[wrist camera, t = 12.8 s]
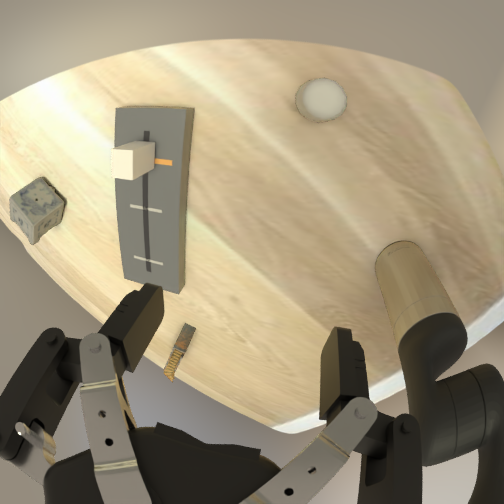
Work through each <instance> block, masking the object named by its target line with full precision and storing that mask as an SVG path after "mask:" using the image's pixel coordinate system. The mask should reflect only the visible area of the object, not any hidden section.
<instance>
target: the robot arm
mask: <svg viewBox="0 0 504 504" xmlns="http://www.w3.org/2000/svg"><path fill="white" fill-rule="evenodd" d="M375 272H376V276H377V279H378V282H379V285H380V289H381V292H382V295H383V298H384V302H385V305H386V308H387V312H388V315H389V319H390V322H391V326H392V329H393V333H394V337H395V340H396V344H397V348H398V353H399V357H400V361H401V365H402V370H403V374H404V379H405V384H406V390H407V396H408V404H409V414H401V415H399V416H397V417H396V418H394V417H391V416H389V415H385V414H383V413H381V412H379V411H377V408H376V406H375V404H374V403H373V402H372V401H371V400H370V399H369V390H368V381H367V372H366V364H365V356H364V350H363V349H362V347H361V345H360V343H359V342H356V341H353V340H352V332H351V329H347V328H341V327H334V328H333V330H332V332H331V334H330V336H329V338H328V340H327V342H326V343H325V345H324V347H323V350H322V354H321V378H320V412H319V419H320V420H327V425H326V427H325V429H324V430H323V431H322V432H321V433H320V434H319V435H318V436H317V437H316V438H315V439H314V440H313V441H312V442H311V443H310V444H309V445H308V446H307V447H305V448H304V449H303V450H302V451H301V452H300V453H299V454H298V455H297V456H296V457H295V458H294V459H292V460H291V461H290V462H289V463H288V464H287V465H286V466H284V467H283V468H282V469H280V468H279V467H278V466H277V465H276V464H275V463H274V462H272V461H271V460H269V459H268V458H266V457H264V456H262V455H260V451H261V449H256V448H250V447H244V446H240V445H234V444H206V443H203V442H202V441H200V440H198V439H196V438H194V437H192V436H191V435H189V434H187V433H186V432H184V431H182V430H179V429H176V428H173V427H170V426H167V425H164V424H161V423H159V422H157V425H156V427H140V428H137V425H136V422H135V420H134V417H133V415H132V412H131V409H130V405H129V401H128V398H127V394H126V390H125V386H124V382H123V378H122V375H123V373H124V371H125V370H127V371H129V372H132V373H133V372H134V370H135V368H136V366H137V365H138V363H139V361H140V359H141V357H142V355H143V354H144V352H145V350H146V348H147V347H148V345H149V343H150V341H151V339H152V338H153V336H154V334H155V332H156V331H157V329H158V327H159V325H160V324H161V322H162V319H163V316H164V299H163V288H162V287H161V286H158V285H155V284H151V283H148V282H147V283H145V284H144V286H143V287H142V288H141V290H140V291H137V290H134V291H132V292H131V293H129V294H127V295H126V296H125V297H124V298H123V300H122V301H121V302H120V304H119V305H118V306H117V308H116V310H114V311H113V313H112V314H111V315H110V317H109V318H108V320H107V321H106V322H105V324H104V325H103V326H102V328H101V329H100V330H99V332H98V333H92V334H89V335H87V336H85V337H84V338H83V339H75V338H68V337H65V335H64V333H63V331H62V330H61V329H59V328H49V329H47V330H45V331H44V332H43V333H42V334H41V335H40V337H39V338H38V339H37V341H36V342H35V343H34V345H33V346H32V348H31V349H30V350H29V352H28V353H27V355H26V356H25V358H24V359H23V361H22V362H21V364H20V365H19V367H18V368H17V370H16V372H15V373H14V375H13V376H12V378H11V379H10V381H9V383H8V384H7V386H6V388H5V389H4V391H3V393H2V395H1V396H0V457H1V458H2V459H3V460H5V461H7V462H9V463H10V464H12V465H14V466H15V467H18V468H19V469H20V470H21V471H23V472H24V473H26V474H27V475H28V476H29V477H31V478H32V479H34V480H35V481H36V482H38V483H40V484H41V485H42V486H43V487H44V495H45V504H307V503H308V502H309V501H310V500H311V499H312V498H313V497H314V496H315V495H316V494H317V493H318V492H319V491H320V490H321V489H322V488H323V487H324V486H325V485H326V484H327V483H328V482H329V481H330V480H331V479H332V478H333V477H334V475H335V474H336V473H337V472H338V471H339V470H340V469H341V468H342V467H343V465H344V464H345V463H346V462H347V460H348V459H349V457H350V456H349V454H350V453H351V452H352V451H355V452H358V453H361V454H362V459H361V472H360V484H359V494H358V502H357V504H422V466H426V467H427V466H432V465H436V464H439V463H442V462H445V461H448V460H450V459H453V458H456V457H459V456H461V455H464V454H466V453H469V452H471V451H474V450H475V449H478V453H479V464H478V474H477V480H476V484H475V487H474V490H473V493H472V496H471V498H470V500H469V502H468V504H504V381H503V378H502V376H501V375H500V373H499V371H498V370H497V369H496V368H495V367H494V366H493V365H490V364H483V365H479V366H477V367H474V368H471V369H469V370H466V371H464V372H461V373H458V374H456V375H453V376H450V377H448V378H445V379H442V380H439V381H435V380H436V379H437V378H438V377H439V376H440V375H441V374H442V373H443V372H445V371H446V370H447V369H449V368H450V367H451V366H452V365H453V364H454V363H455V362H456V361H457V360H458V359H459V358H460V357H461V355H462V353H463V352H464V350H465V348H466V345H467V339H468V338H467V332H466V329H465V327H464V325H463V323H462V321H461V319H460V317H459V315H458V313H457V311H456V309H455V307H454V305H453V303H452V301H451V300H450V298H449V296H448V294H447V292H446V290H445V289H444V287H443V285H442V283H441V282H440V280H439V278H438V277H437V275H436V273H435V272H434V270H433V268H432V267H431V265H430V263H429V262H428V260H427V258H426V257H425V255H424V254H423V252H422V251H421V249H420V248H419V247H418V246H417V245H416V244H414V243H412V242H408V241H400V242H396V243H394V244H391V245H390V246H388V247H387V248H385V249H384V250H383V251H382V252H381V254H380V255H379V257H378V259H377V261H376V265H375ZM80 382H82V383H83V386H82V387H80V397H81V404H82V410H83V415H84V421H85V426H86V432H87V436H88V440H89V445H90V449H88V450H86V451H84V452H81V453H78V454H76V455H74V456H71V457H69V458H66V459H64V460H61V461H58V462H56V463H55V459H54V455H55V454H56V445H55V441H54V439H53V435H54V433H55V431H56V429H57V426H58V424H59V422H60V420H61V418H62V416H63V414H64V412H65V410H66V408H67V406H68V404H69V402H70V400H71V398H72V396H73V394H74V392H75V390H76V389H77V387H78V385H79V383H80Z"/></svg>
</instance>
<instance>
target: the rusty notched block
mask: <svg viewBox="0 0 504 504" xmlns="http://www.w3.org/2000/svg"><path fill="white" fill-rule="evenodd" d="M195 329H196V328H194V327H192V326H190V325H188V324H186V323H185V325H184V327H183V329H182V331H181V333H180V335H179V337H178V339H177V341H176V343H175V345H174V347H173V350H172V352H171V354H170V356H169V359H168V361H167V363H166V366H165V368H164V374H165V375H166V376H167V377H168V378H169V379H170V380H171V381H172V380H173V379H174V373H175V371H176V369H177V367H178V365H179V363H180V361H181V359H182V358H183V356H184V353H185V352H186V350H187V348H188V345H189V343H190V341H191V339H192V336H193V334H194V332H195ZM172 382H173V381H172Z"/></svg>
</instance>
